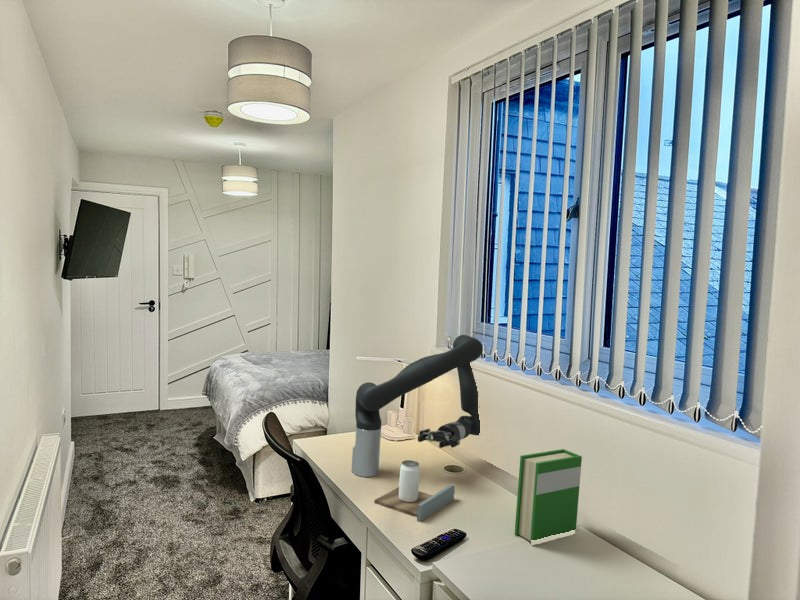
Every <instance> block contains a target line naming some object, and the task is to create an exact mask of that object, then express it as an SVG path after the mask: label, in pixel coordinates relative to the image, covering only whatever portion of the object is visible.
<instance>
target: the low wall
mask: <svg viewBox="0 0 800 600" xmlns="http://www.w3.org/2000/svg"><path fill="white" fill-rule="evenodd" d="M455 486H456V485H455V484H453V483H451V484H449V485H448V486H446V487H445V488H443V489H441V490H440V491H438V492H436V493H434V494H432V495H433V496H431V497H430V498H428V499H426V500H425V501H423V502H421V503H420V504H418V512H417V517H416V521H418V522H420V521H421V522H422V521H424V520H425V519H427V518H428V517H429V515H430V516H431V515H432V513H433V514H434V513H435V512H438V511H439V510H440V509H442V508H444V507H445V506H446V505H448V504H450V503H451V502H452V501H453V499H455V488H456V487H455ZM426 517H427V518H426ZM423 519H424V520H423Z"/></svg>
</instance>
